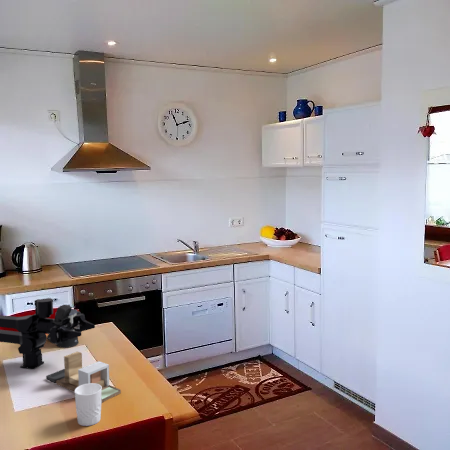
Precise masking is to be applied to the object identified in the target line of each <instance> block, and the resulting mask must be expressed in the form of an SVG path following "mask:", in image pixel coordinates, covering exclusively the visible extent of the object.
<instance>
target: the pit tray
mask: <svg viewBox="0 0 450 450" xmlns="http://www.w3.org/2000/svg"><path fill="white" fill-rule="evenodd" d="M63 378H65V368H63V369H61V370H57V371H56V372H53V373H51V374H48V375H46V376H45V379H46V381H48V382H50V383H53V384H54V385H57V384H56V380H61V379H63Z"/></svg>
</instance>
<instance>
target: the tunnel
mask: <svg viewBox="0 0 450 450" xmlns="http://www.w3.org/2000/svg"><path fill="white" fill-rule="evenodd" d="M98 371H100V376H101V379H103V380H104V385H105V386H107V387H108V385H110V364H108V363H107V362H106V363H105V362H102V361H100V360H99V361H95V362H94V363H90V364H89V365H85V366H84V367H83V366H82V368H81V369H79V370H78V378H79V386H80V385H83V384H88V383H90V375H91V374H93V373H96V372H98Z"/></svg>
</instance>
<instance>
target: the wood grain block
mask: <svg viewBox="0 0 450 450" xmlns="http://www.w3.org/2000/svg"><path fill="white" fill-rule="evenodd" d="M63 363H64V369H65V381H66V382H68V383H70V384H73V385H75V386H79V378H78V370H79V369H81V368H83V353H82V352H80V351H75V352H73V353H69V354H66V355H64V356H63ZM90 383H96V384H99V385H101V387H104V380H103V379H101V376H100V371H98V372H96V373H93V374H91V375H90Z"/></svg>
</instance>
